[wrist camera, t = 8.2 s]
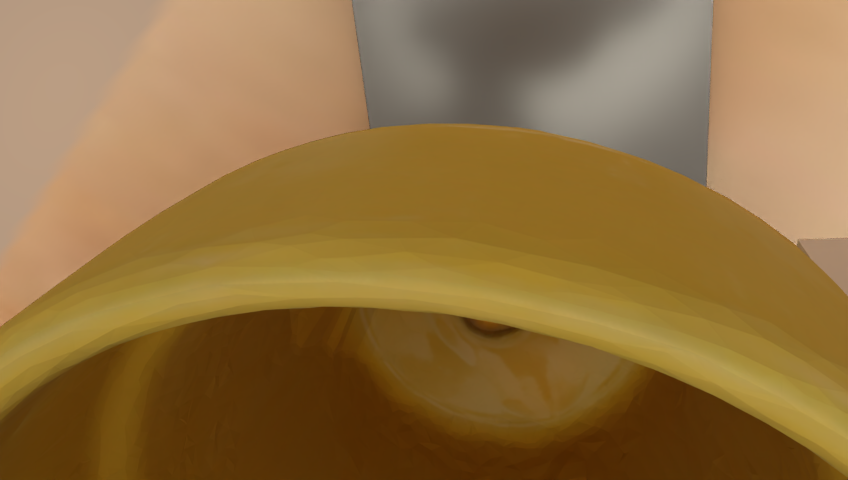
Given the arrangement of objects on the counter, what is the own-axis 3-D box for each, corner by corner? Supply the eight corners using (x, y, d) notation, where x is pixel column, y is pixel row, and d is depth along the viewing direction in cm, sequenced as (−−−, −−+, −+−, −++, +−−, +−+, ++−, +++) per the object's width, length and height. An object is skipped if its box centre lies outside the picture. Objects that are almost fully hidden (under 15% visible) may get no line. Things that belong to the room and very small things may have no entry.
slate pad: (389, 240, 36) (386, 246, 35) (344, -80, 30) (340, -80, 30) (702, 229, 33) (704, 235, 32) (715, -126, 28) (718, -126, 27)
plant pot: (151, 223, 16) (-360, 629, 7) (567, -121, 12) (578, -171, 3) (453, 551, 18) (350, 1162, 9) (882, 351, 14) (1390, 1071, 6)
